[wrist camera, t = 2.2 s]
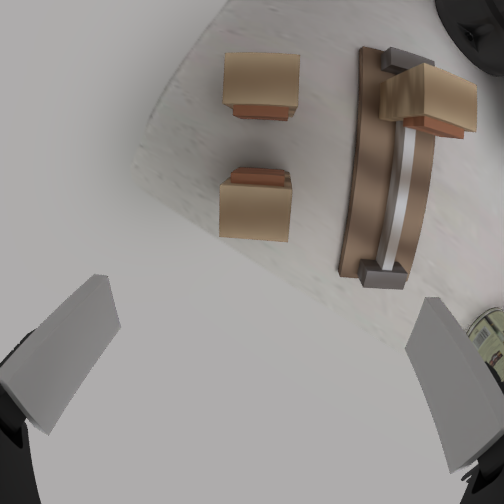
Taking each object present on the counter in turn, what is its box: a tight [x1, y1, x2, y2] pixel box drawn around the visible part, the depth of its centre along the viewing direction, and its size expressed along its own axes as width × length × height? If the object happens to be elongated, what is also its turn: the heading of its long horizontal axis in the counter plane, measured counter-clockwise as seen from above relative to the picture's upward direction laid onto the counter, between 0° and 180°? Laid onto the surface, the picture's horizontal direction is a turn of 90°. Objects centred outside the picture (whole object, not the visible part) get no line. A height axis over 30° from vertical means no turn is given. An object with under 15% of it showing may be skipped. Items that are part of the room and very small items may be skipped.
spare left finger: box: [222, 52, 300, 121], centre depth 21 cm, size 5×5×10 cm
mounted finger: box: [379, 63, 477, 139], centre depth 18 cm, size 5×5×10 cm
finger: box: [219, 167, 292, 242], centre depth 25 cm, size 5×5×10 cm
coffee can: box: [466, 308, 504, 383], centre depth 27 cm, size 10×10×14 cm
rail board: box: [338, 46, 435, 290], centre depth 24 cm, size 26×9×4 cm, turn 177°
